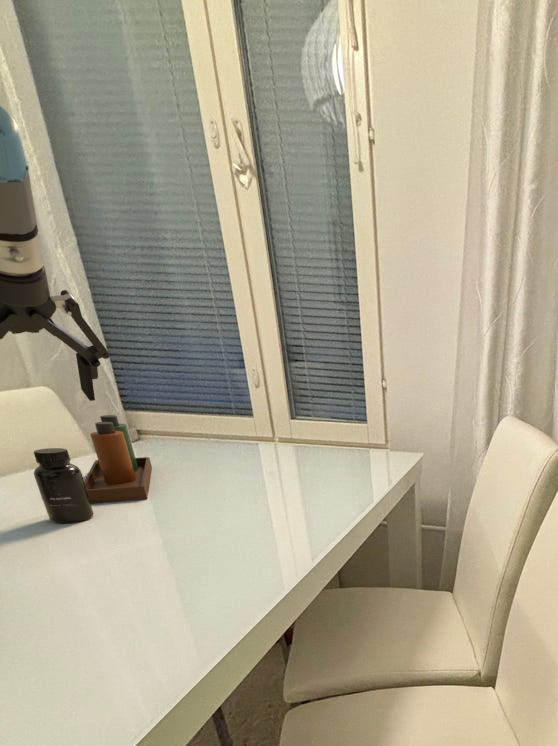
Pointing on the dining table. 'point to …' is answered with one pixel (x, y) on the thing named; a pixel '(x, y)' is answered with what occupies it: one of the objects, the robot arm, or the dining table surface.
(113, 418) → the row bottles
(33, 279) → the robot arm
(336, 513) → the dining table surface
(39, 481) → the supplement bottle
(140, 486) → the tray
